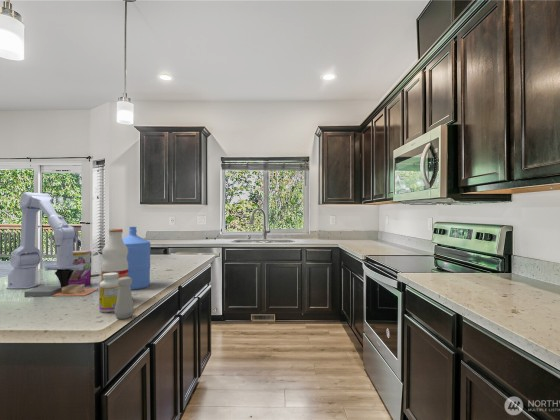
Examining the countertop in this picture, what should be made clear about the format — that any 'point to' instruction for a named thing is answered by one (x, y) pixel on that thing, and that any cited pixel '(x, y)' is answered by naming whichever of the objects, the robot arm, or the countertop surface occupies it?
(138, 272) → the water jug
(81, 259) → the candy bar box
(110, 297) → the supplement bottle
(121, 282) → the salt shaker
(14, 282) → the robot arm
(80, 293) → the mat
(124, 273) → the fruit juice
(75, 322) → the countertop surface
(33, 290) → the grey square tile
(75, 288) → the oak tile
